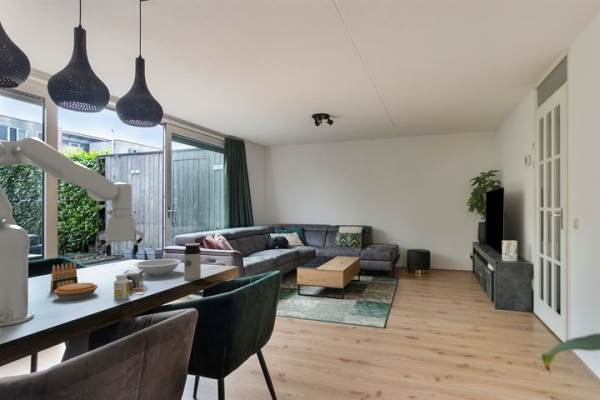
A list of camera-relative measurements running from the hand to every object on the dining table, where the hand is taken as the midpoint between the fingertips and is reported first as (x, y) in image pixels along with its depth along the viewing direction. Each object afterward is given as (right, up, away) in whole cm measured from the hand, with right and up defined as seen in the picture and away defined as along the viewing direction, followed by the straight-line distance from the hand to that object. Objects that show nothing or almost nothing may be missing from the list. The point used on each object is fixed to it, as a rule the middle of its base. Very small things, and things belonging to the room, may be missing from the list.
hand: (122, 255), depth 139 cm
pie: (-20, -18, +3) cm, 27 cm away
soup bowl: (-5, -19, +48) cm, 52 cm away
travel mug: (+18, -18, +35) cm, 43 cm away
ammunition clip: (-34, -18, +15) cm, 41 cm away
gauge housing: (-2, -18, +14) cm, 23 cm away
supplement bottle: (0, -18, 0) cm, 18 cm away
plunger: (-1, -17, +12) cm, 21 cm away
